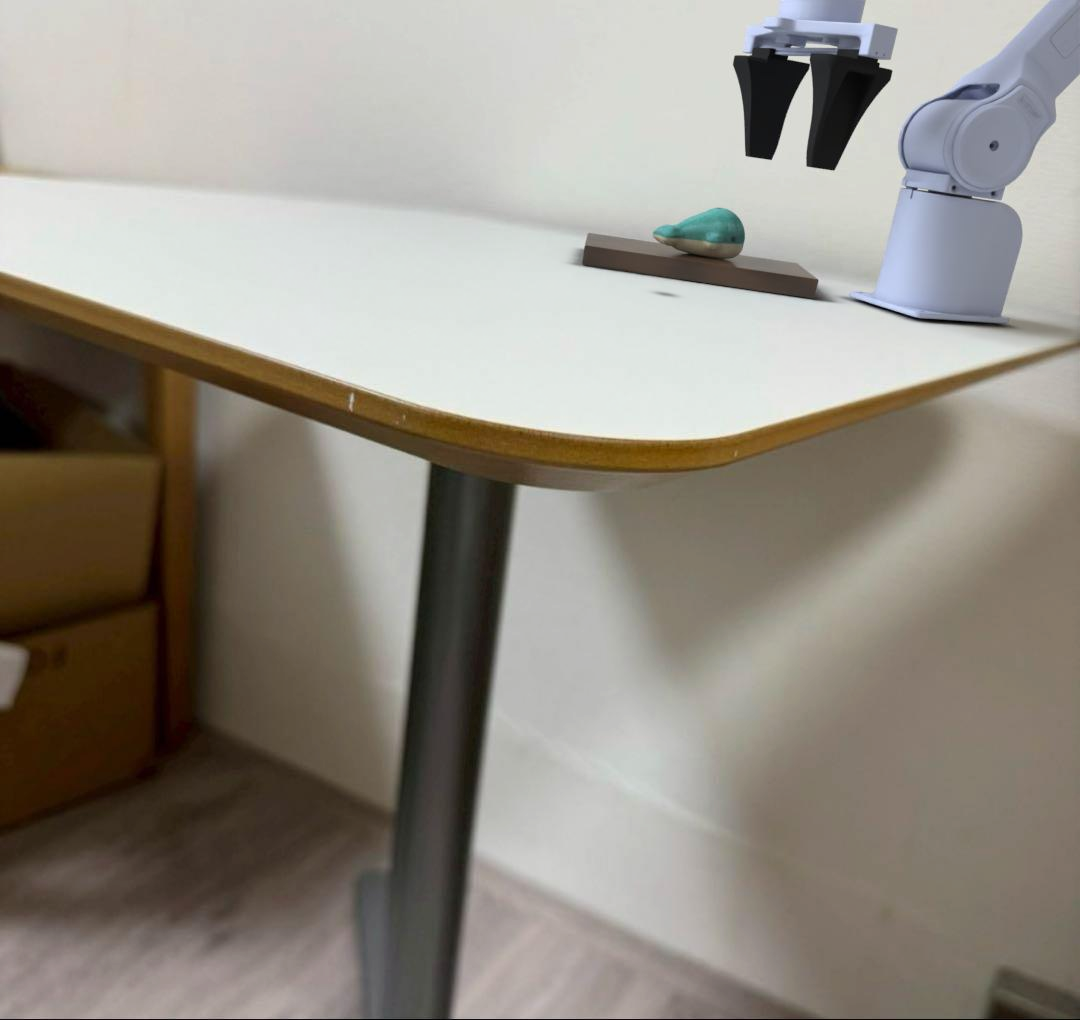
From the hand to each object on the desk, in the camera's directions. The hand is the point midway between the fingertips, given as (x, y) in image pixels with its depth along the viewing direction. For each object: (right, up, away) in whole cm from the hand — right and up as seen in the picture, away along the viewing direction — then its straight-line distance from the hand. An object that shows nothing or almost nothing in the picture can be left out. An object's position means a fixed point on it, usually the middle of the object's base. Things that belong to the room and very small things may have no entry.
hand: (788, 163), depth 77 cm
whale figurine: (-6, -5, +8) cm, 11 cm away
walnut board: (-6, -6, +8) cm, 12 cm away
